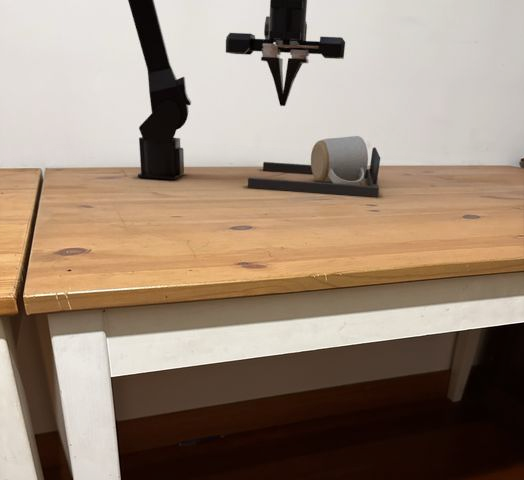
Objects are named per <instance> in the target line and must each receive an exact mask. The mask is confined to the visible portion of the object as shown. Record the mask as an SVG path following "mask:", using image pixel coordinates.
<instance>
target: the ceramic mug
mask: <svg viewBox="0 0 524 480" xmlns="http://www.w3.org/2000/svg"><path fill="white" fill-rule="evenodd" d="M368 164H369V153H368V148H367V144H366V142H365V140H364V139H363V137H362V136H359V135H352V136H343V137H329V138H324V139H321V140H317V141H316V142H315V144H314V145H313V147H312V149H311V153H310V165H311V169H312V173H313V174H312V175H313V177H314V179H315V180H316V181H317V182H322V183H336V184H350V185H363V182H364V179H365V178H364V176H365V173H366V170H367V169H368Z"/></svg>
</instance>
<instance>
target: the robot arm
mask: <svg viewBox="0 0 524 480" xmlns="http://www.w3.org/2000/svg"><path fill="white" fill-rule="evenodd" d="M127 1H128V6H129V9H130V12H131V16H132V19H133V23H134V26H135V31H136V34H137V37H138V41H139V44H140V48H141V51H142V54H143V59H144V62H145V66H146V71H147V80H148V93H149V102H150V110H151V114H149V116H148V117H147V118H146V119H145V120H144V121H143V122H142V123H141V124H140V125H139V126H138V129H139V133H140V134H141V137H139V138H138V143H139V144H138V146H139V161H140V173H137V177H138V178H145V179H157V180H158V179H159V180H172V181H173V180H176V179H178V178H180V177H181V176H183V175H184V174H185V163H184V162H185V157H184V156H185V155H184V153H185V152H184V148H183V147H181V137H175V135H176V132H177V130H179V129H181V128H182V127H183V126H184V125H185V124H186V122H187V120H188V118H189V117H188V116H189V112H190V111H189V106H191V105H192V100H191V99H190V97H189V96H188V93H187V85H186V77H185V76H182V77H179V78H177V76H176V74H175V72H174V70H173V67H172V65H171V62H170V58H169V54H168V52H167V51H168V50H167V46H166V43H165V39H164V34H163V30H162V28H161V27H162V26H161V24H160V20H159V16H158V11H157V8H156V5H155V0H127ZM307 7H308V0H269V16H268V15H267V16H266V17H265V22H264V29H263V35H264V36H263V37H264V38H256V35H255V34H252V33H245V32H229V33H228V34H227V36H226V37H225V53H226V54H231V55H245V56H246V55H249V56H251V55H252V54H253V53H254V52H261V54H262V55H261V56H260V61H261V62H266V63H267V66H268V68H269V71H270V73H271V76H272V80H273V82H274V86H275V87H274V88H275V91H276V94H277V99H278V103H279V106H280V107H286V105H287V102H288V99H289V96H290V94H291V92H292V91H291V90H292V87H293V85H294V82H295V79H296V77H297V76H298V73H299V71H300V70H301V68H302V65H304V64H309V57H310V55H321V56H322V57H323V58H324V59H336V60H344V59H345V50H346V41H345V39H344V38H343V37H340V36H319V41H316V40H307V32H308V23H307V10H308V9H307ZM282 53H286V54H290V56H291V57H289V58H287V64H286V69H285V70H286V71H285V77H284V74H283V69H284V68H283V65H284V62H283V61H284V59H283V58H282V57H280V56H281V55H282Z"/></svg>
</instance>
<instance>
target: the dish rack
mask: <svg viewBox="0 0 524 480" xmlns="http://www.w3.org/2000/svg"><path fill="white" fill-rule="evenodd" d="M380 163H381V156H380V154H379V152H378V150H377V148H376V147H375V146H374V147H372V150H371V158H370V163H369V168H367V170H366V173H365V176H364V179H367V183H368V185H364V184H362V185H350V184H336V183H324V182H319V181H309V180H308V181H306V180H291V179H277V178H263V177H247V188H248V189H258V190H274V191H287V192H299V193H300V192H302V193H315V194H326V195H327V194H330V195H343V196H355V197H356V196H357V197H369V198H378V196H379V189H380V188H379V184H378V177H379V171H380ZM262 171H264V172H277V173H278V172H279V173H292V174H293V173H294V174H307V175H313V173H312V169H311V164H300V163H286V162H271V161H263V163H262Z"/></svg>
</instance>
